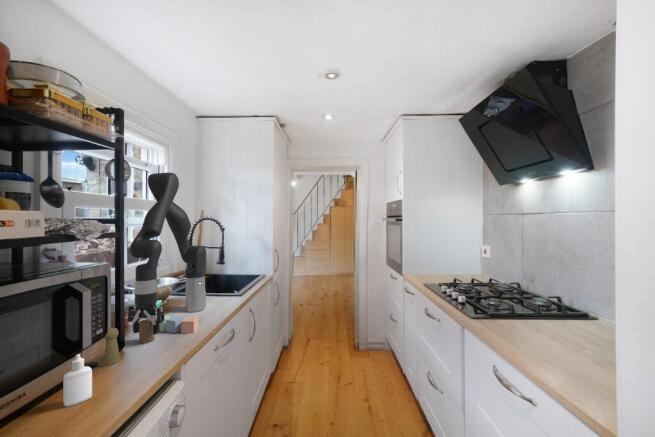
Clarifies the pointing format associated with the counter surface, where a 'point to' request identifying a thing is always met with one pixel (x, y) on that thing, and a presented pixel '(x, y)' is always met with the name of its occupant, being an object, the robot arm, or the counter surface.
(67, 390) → the eye dropper bottle
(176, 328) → the slate blue cube
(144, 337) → the wooden block
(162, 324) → the sage cube
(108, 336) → the olive pawn
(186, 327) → the terracotta cube
